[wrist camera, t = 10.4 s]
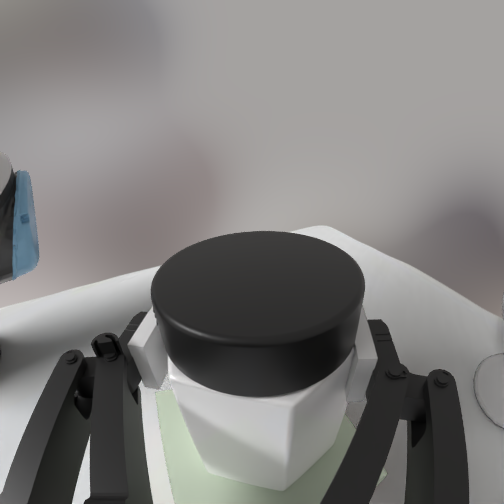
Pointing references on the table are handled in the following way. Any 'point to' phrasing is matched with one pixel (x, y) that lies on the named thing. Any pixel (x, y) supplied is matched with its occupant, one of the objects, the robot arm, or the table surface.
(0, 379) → the table surface
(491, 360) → the chalice
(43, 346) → the table surface
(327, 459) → the tower base
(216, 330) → the jar
